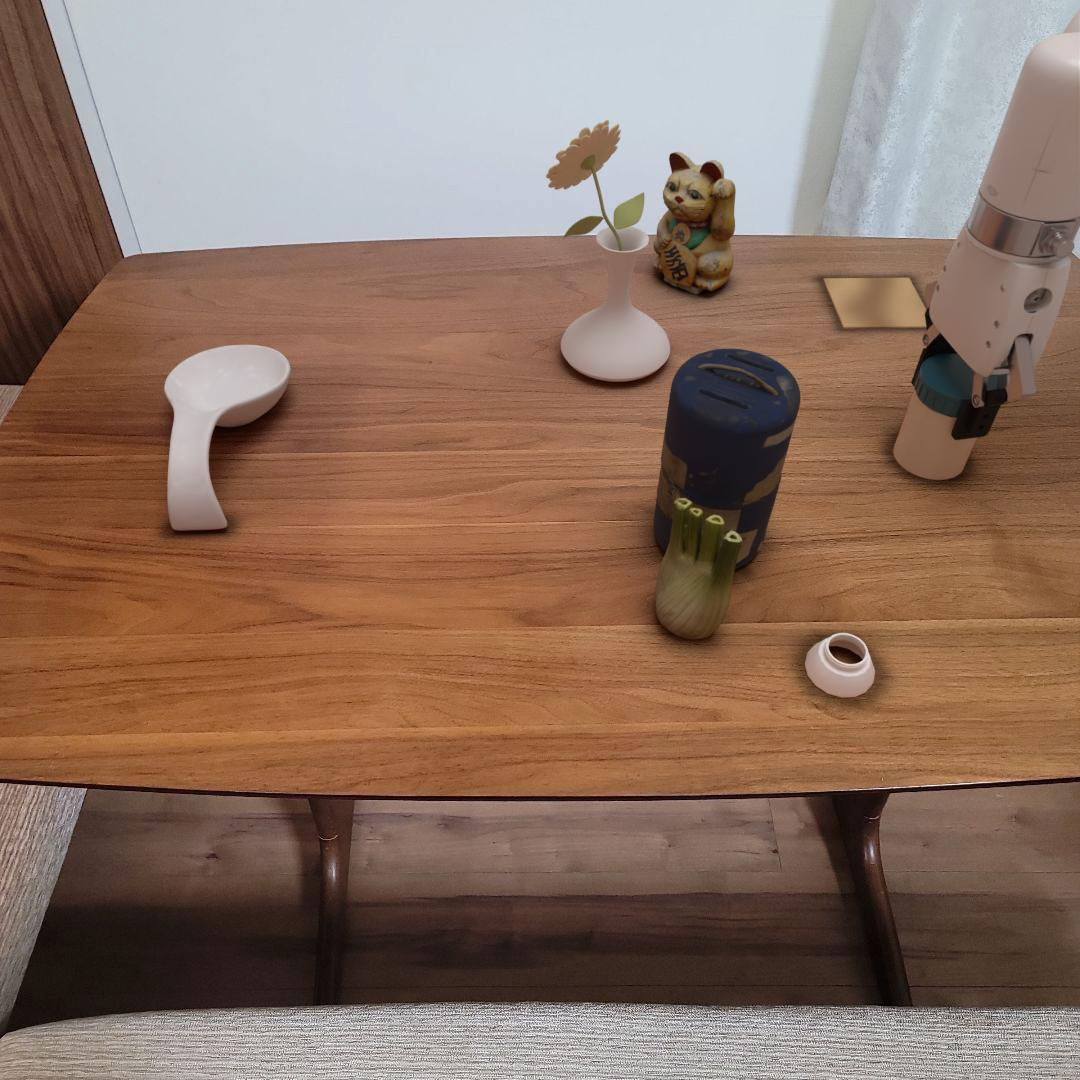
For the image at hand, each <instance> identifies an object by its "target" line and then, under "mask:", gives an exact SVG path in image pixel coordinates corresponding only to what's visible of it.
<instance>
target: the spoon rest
mask: <svg viewBox="0 0 1080 1080" xmlns="http://www.w3.org/2000/svg"><path fill="white" fill-rule="evenodd" d="M291 372H292V369H291V364H290V361H289V360H288V358H287V357H286V355H284V354H283V353H282V352H280V351H278V350H277V349H274V348H272V347H268V346H264V345H257V344H234V345H233V344H232V345H223V346H218V347H213V348H210V349H205V350H203V351H200V352H198V353H195V354H193V355H191V356H189V357H187V358H185V359H184V360H183V361H181V362H180V363H178V364H177V365H176V366H175V367H174V368H172V370H171V371H170V372H169V374H168V375H167V377H166V379H165V382H164V385H163V386H164V387H163V392H164V395H165V396H166V399H167V401H168V402H169V404H170V405H171V407H172V410H173V423H172V427H171V435H170V441H169V443H170V444H169V451H168V452H169V453H168V462H167V463H168V464H167V466H168V467H167V485H166V487H167V489H166V490H167V491H166V492H167V495H166V496H167V497H166V500H167V512H168V519H169V523H170V526H171V529H173V530H175V531H206V530H207V531H209V530H221V529H226V528H227V527H228V521H227V519H226V516H225V514H224V512H223V510H222V507H221V504H220V502H219V500H218V498H217V495H216V492H215V489H214V487H213V484H212V483H213V482H212V479H211V474H210V460H209V459H210V448H211V447H210V446H211V441H212V436H213V433H214V430H215V427H216V426H217V427H222V428H236V427H241V426H245V425H248V424H251V423H252V422H254V421H256V420H258V419H259V418H260V417H262V416H263V415H265V414H266V413H267V412H269V411H270V410H271V409H272V408H273V407H274V406H275V405H276V404H277V403H278V402H279V401H280V399H281V398H282V396H283V395H284V393H285V392H286V390H287V387H288V386H289V385H288V384H289V381H290V377H291Z"/></svg>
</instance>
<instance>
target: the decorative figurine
mask: <svg viewBox="0 0 1080 1080" xmlns="http://www.w3.org/2000/svg"><path fill="white" fill-rule="evenodd" d="M668 163H669V167H670V170H671V174H670V175H669V176H668V178H667V180H666V182H665V185H664V189H663V190H662V199H663V203H664V205H665V206H666V208H667V210H666V212H665V213H663V215H662V217H661V219H659V221H658V223H657V226H656V235H655V238H654V240H653V245H652V246H653V250H654V252H655V253H656V255H657V256H656V257H655V258H654V260H653V262H652V263H653V265H652V266H653V270H655V271H656V272H658V273H661V274H663V276H664V277H663V281H664V282H666V283H669V284H670V285H671V286H673V287H676V288H680V289H682V290H685V291H687V292H689V293H692V294H694V295H699V294H700V293H702V292H703V291H704V290H705V291H707V290H708V291H709V292H713V291H715V290H718V289H719V288H721V287H723V285H725V284H726V283H727V282H728V281H729V278H730V275H731V272H732V270H733V267H734V259H735V257H734V253H733V250H732V243H731V238H732V237H733V236H734V233H735V230H736V218H735V206H736V205H735V204H736V193H737V190H736V185H735V183H734V181H733V180H731V179H729V178H725V170H724V166H723V165H722V163H721V162H720V161H718V160H716V159H710V160H707V161H705V162H704V163H702V164H695V162H693V160H692V159H691V158H690V157H689V156H688V155H686V154H685V153H683V152H680V151H673V152H671V153H670V154H669V157H668Z"/></svg>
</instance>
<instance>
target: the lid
mask: <svg viewBox="0 0 1080 1080" xmlns="http://www.w3.org/2000/svg"><path fill="white" fill-rule="evenodd" d="M973 375H974V370H973V369H972V368H971V367H970V366H969V365H968V364H967V363H966V362H965V361H964V360H963V359H962V358H961V356H960V355H959V354H954V353H946V354H938V355H934V356H932V357H930V358H928V359H926V360H925V361H924V362H923V364H922V366H921V367H920V370H919V372H918V374H917V377H916V380H915V382H914V384H915V387H914V390H915V391H916V394H917V396H918V397H919V398H920V400H921V401H922V402H923V403H924V404H926V405H927V406H929V407H930V408H932V409H934V410H936V411H938V412H941V413H943V414H946V415H950V416H955V417H958V415H959V412H960V410H961V408H962V405H963V403H964V401H965V400H967V399H971V398H972V387H973ZM997 380H998V375H997V376H989V377H988V384H987V391H989V390H994V389H997ZM914 390H913V391H914Z"/></svg>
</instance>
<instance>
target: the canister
mask: <svg viewBox="0 0 1080 1080" xmlns="http://www.w3.org/2000/svg"><path fill="white" fill-rule="evenodd" d="M800 406H801V389H800V386H799V383H798V381H797V379H796V377H795V376H794V375H793V373H791V371H790V370H789V369H788V368H787V367H786V366H784V365H783V363H780V362H779V361H778V360H775V359H774V358H772V357H770V356H768V355H766V354H763V353H760V352H756V351H752V350H748V349H743V348H714V349H710V350H707V351H703V352H699V353H697V354H696V355H693V356H692V357H690V358H689V359H687V360H686V361H684V362H683V363H682V364H681V366H679V368H678V369H677V370H676V372H675V374H674V376H673V378H672V381H671V385H670V390H669V398H668V405H667V412H666V420H665V427H664V434H663V439H662V440H663V441H662V446H661V447H662V448H661V453H660V469H659V477H658V483H657V489H656V500H655V508H654V514H653V531H654V535H655V539H656V540H657V543H658V545H659V546H660V547H661V549H662V550H663V551H664V553H666V551H667V549H668V545H669V542H670V537H671V529H672V521H673V519H672V518H673V506H674V505H673V502H674V501H675V500H676V499H677V498H687V499H688V500H689V501H691V502H693V503H692V508H699V509H701V510H702V511H703V523H702V535H703V530H704V524H705V520H706V519H707V518H709V517H710V516H712V515H718V516H720V517H722V519H723V521H724V528H723V534H722V538H721V544H720V547H721V545H722V541H723V538H724V537H725V536H726V534H727V533H729V532H730V531H731V530H732V531H735V532H737V533H738V534H739V535H740V537H741V538H742V546H741V548H740V551H739V555H738V559H737V562H736V565H735V570H736V569H738V568H741V567H743V566H745V565H746V564H748V563H749V562H751V561H752V560H753V559H754V558H755V557H756V556H757V555H758V553H759V552H760V551H761V549H762V548H763V545H764V542H765V538H766V533H767V529H768V526H769V522H770V519H771V516H772V513H773V509H774V507H775V503H776V500H777V494H778V491H779V489H780V484H781V480H782V473H783V470H784V466H785V461H786V458H787V454H788V451H789V447H790V443H791V439H792V435H793V431H794V427H795V424H796V420H797V417H798V414H799V411H800ZM701 543H702V541H701Z"/></svg>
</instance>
